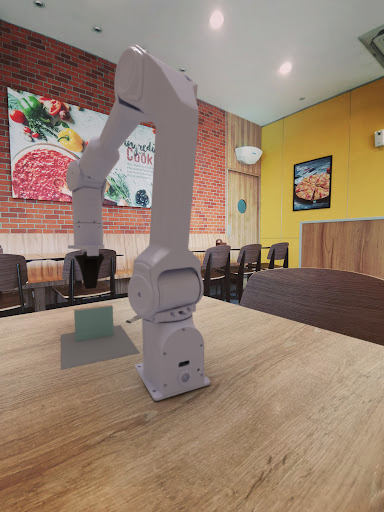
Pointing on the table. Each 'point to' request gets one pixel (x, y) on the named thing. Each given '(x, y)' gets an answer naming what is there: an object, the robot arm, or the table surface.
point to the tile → (93, 322)
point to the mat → (95, 348)
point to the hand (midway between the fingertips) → (90, 288)
